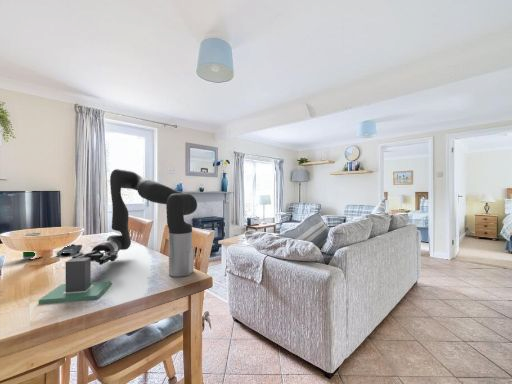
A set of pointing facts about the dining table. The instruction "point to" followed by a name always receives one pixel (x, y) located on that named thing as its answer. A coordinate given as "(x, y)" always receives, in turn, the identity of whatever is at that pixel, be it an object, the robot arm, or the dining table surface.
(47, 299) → the pin board
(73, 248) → the electronic device
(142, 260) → the dining table surface
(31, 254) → the soda can
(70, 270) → the block
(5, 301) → the dining table surface
